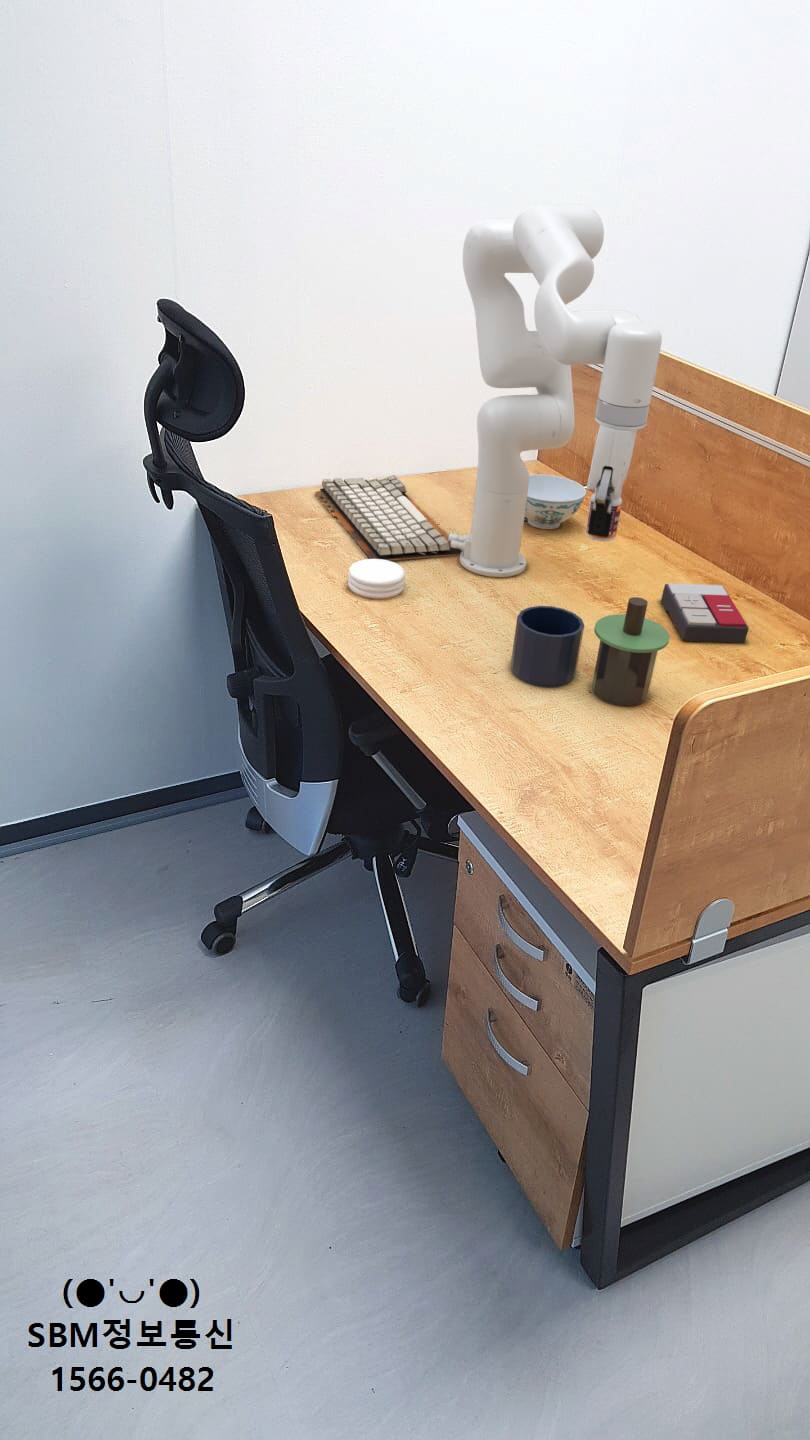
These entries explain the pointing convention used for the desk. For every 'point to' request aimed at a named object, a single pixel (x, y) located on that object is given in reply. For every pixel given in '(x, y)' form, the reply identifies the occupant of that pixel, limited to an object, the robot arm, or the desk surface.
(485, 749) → the desk surface
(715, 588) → the calculator
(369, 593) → the white round stack
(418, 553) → the mechanical keyboard
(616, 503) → the pill bottle
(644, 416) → the robot arm
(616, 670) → the cup
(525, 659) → the tin
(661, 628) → the lid
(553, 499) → the chinaware
